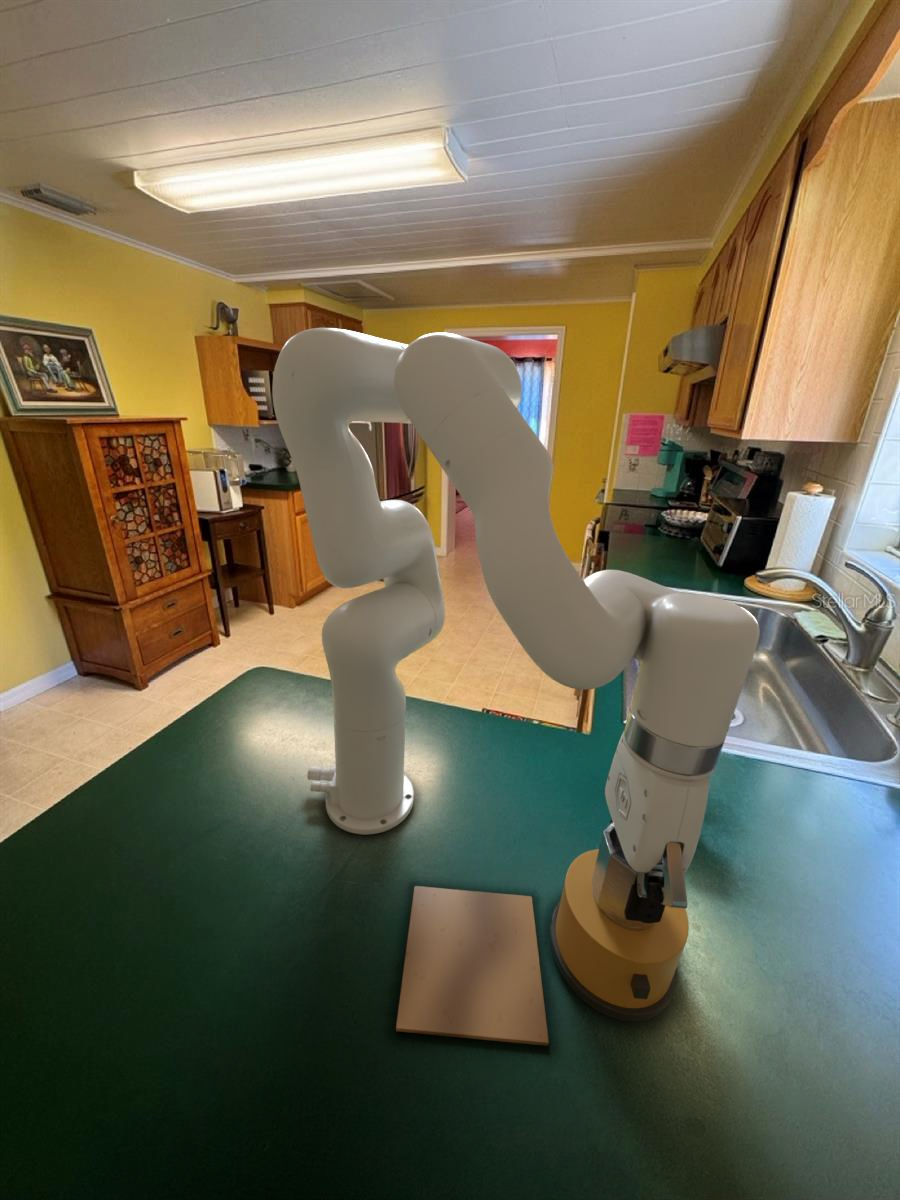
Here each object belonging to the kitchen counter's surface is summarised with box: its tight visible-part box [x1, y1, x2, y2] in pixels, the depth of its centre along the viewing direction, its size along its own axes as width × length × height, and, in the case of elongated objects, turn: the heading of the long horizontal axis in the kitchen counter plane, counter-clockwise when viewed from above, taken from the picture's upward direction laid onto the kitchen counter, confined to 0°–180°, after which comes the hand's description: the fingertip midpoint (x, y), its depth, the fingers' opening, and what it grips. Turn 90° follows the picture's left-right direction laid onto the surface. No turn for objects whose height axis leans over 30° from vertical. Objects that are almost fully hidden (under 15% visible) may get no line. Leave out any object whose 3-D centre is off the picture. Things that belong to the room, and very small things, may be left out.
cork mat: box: [395, 885, 550, 1047], centre depth 49 cm, size 14×14×1 cm
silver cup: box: [592, 823, 663, 931], centre depth 47 cm, size 6×6×8 cm
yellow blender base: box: [549, 848, 690, 1023], centre depth 50 cm, size 13×14×8 cm
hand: (629, 881), depth 47 cm, fingers closed on silver cup, 6 cm apart
